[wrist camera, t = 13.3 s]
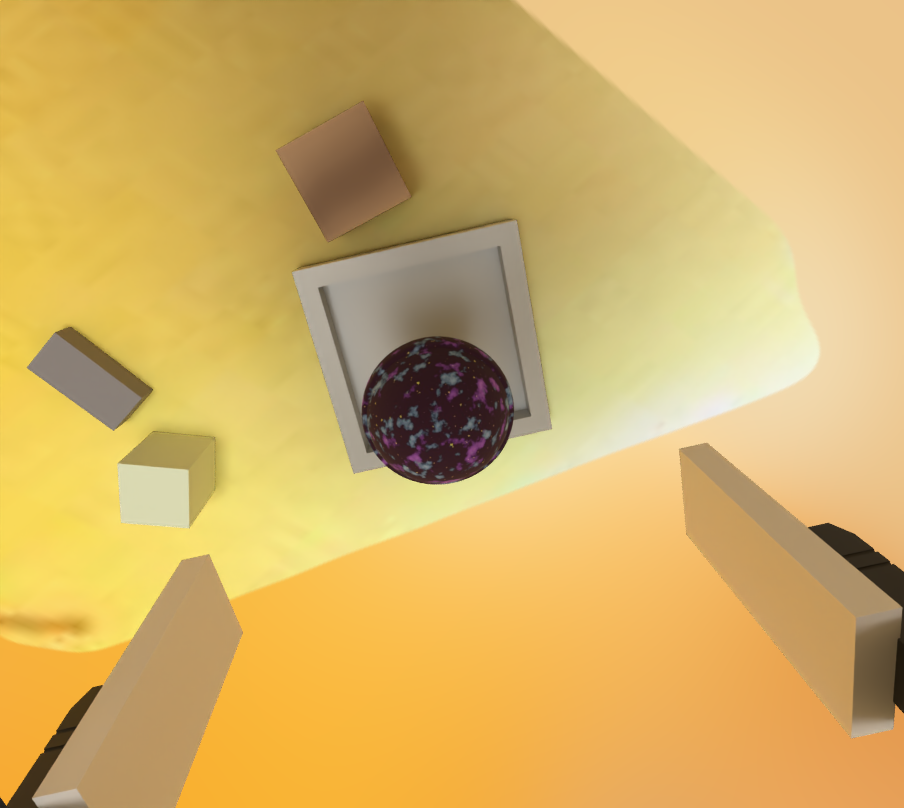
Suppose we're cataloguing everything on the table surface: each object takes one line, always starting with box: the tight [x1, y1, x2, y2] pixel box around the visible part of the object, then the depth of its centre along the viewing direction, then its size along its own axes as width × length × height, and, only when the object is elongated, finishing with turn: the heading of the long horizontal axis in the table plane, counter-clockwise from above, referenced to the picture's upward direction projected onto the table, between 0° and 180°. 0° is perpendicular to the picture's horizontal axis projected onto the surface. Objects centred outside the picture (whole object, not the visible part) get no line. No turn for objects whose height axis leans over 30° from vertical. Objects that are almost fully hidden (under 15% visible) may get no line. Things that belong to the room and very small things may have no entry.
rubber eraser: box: [27, 327, 153, 431], centre depth 36 cm, size 6×3×2 cm, turn 45°
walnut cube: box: [276, 101, 411, 242], centre depth 32 cm, size 5×5×5 cm
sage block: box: [118, 431, 215, 528], centre depth 37 cm, size 4×4×5 cm
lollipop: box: [362, 336, 514, 484], centre depth 30 cm, size 7×7×15 cm
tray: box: [292, 219, 552, 474], centre depth 37 cm, size 13×13×2 cm
